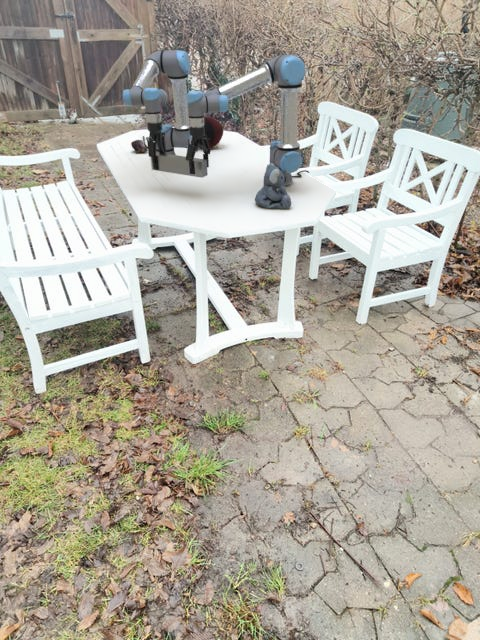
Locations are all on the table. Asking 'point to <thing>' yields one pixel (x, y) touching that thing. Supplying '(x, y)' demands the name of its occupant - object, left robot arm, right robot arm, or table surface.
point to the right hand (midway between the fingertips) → (199, 170)
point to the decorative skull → (212, 131)
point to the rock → (138, 146)
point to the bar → (180, 165)
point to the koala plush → (273, 190)
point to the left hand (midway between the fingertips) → (159, 167)
